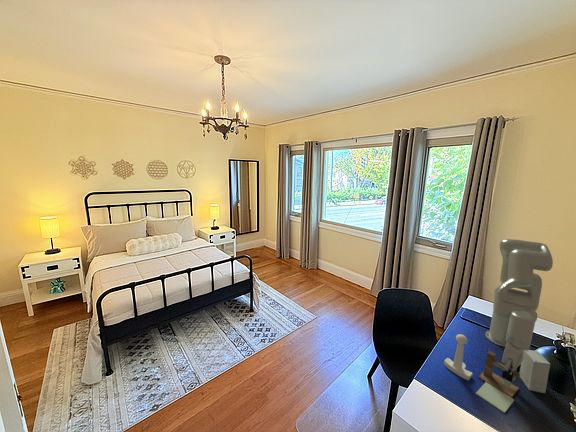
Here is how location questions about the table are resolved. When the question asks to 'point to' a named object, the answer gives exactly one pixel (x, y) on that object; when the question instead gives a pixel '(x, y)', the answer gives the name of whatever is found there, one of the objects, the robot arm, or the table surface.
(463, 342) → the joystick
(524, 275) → the robot arm
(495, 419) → the table surface
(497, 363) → the stand
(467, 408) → the table surface
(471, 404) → the table surface
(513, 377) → the grey u-shaped block
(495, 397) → the mat
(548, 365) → the skincare box
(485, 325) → the table surface
